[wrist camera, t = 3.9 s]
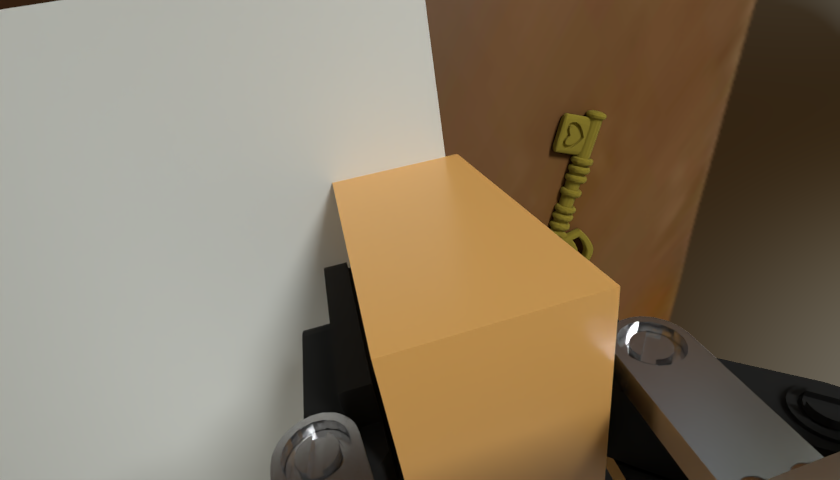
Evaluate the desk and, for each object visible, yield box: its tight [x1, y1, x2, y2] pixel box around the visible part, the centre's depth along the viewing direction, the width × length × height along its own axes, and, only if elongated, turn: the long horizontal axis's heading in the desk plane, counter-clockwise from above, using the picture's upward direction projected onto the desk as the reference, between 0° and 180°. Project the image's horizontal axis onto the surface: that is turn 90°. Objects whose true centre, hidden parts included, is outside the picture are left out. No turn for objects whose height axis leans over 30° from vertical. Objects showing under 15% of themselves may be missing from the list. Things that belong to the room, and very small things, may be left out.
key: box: [549, 110, 607, 260], centre depth 27 cm, size 12×1×5 cm
